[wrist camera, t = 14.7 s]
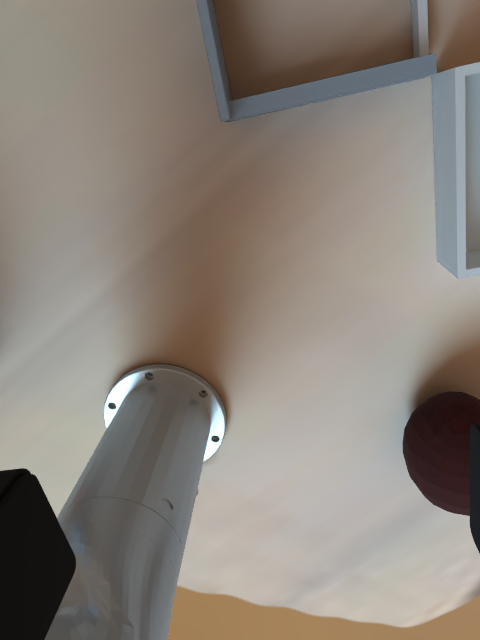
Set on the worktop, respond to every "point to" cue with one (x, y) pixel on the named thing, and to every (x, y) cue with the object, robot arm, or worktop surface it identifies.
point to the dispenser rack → (322, 88)
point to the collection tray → (457, 168)
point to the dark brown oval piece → (442, 449)
